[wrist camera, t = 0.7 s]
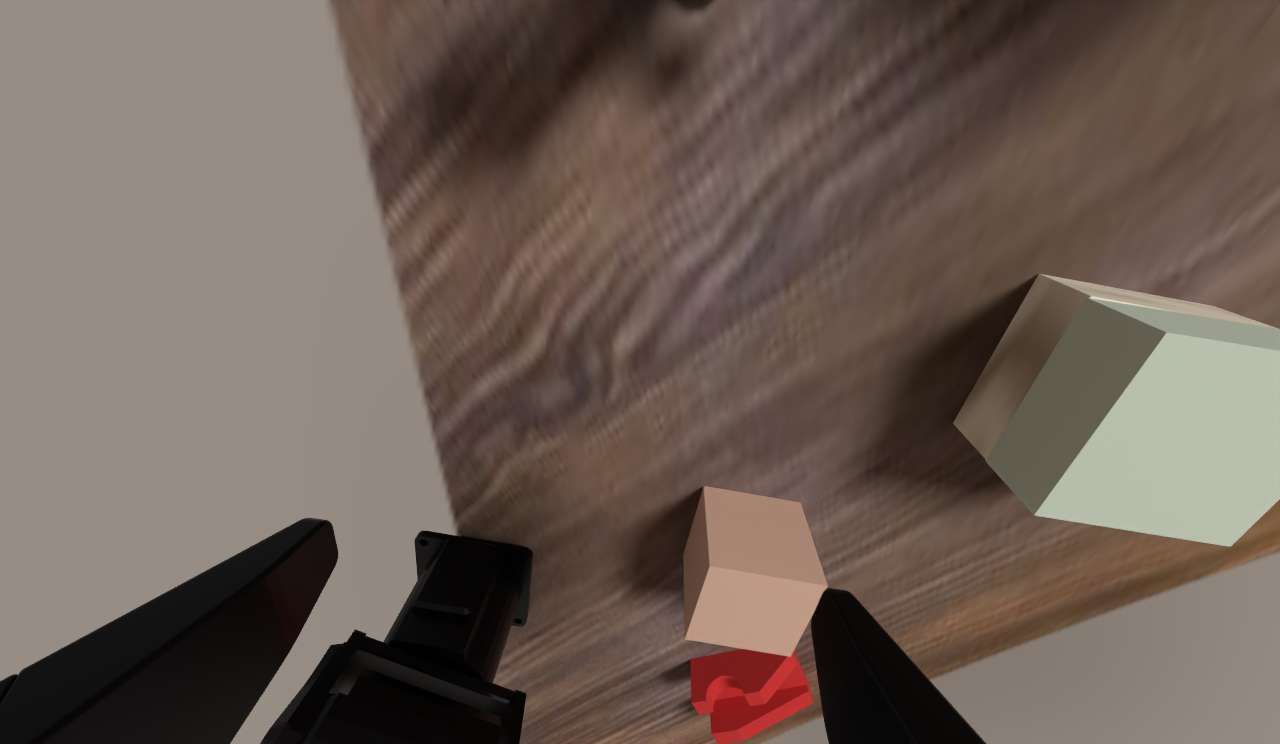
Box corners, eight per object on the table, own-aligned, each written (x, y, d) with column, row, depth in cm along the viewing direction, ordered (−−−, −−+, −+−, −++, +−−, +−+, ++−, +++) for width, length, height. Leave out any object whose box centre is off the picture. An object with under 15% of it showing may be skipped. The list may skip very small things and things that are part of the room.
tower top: (1155, 488, 19) (1230, 546, 17) (985, 461, 19) (1034, 515, 17) (1290, 330, 16) (1410, 372, 14) (1085, 297, 16) (1166, 332, 13)
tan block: (771, 568, 27) (790, 656, 22) (683, 552, 27) (684, 639, 22) (800, 501, 24) (827, 586, 20) (703, 484, 24) (709, 565, 20)
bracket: (714, 694, 33) (718, 744, 31) (690, 653, 31) (691, 702, 29) (807, 678, 32) (819, 729, 29) (788, 634, 30) (798, 685, 27)
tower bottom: (1096, 445, 22) (1153, 489, 19) (948, 418, 22) (986, 459, 19) (1205, 303, 19) (1291, 333, 16) (1032, 271, 19) (1091, 295, 16)
